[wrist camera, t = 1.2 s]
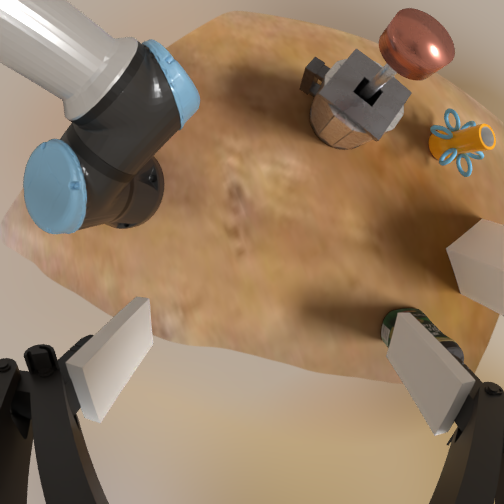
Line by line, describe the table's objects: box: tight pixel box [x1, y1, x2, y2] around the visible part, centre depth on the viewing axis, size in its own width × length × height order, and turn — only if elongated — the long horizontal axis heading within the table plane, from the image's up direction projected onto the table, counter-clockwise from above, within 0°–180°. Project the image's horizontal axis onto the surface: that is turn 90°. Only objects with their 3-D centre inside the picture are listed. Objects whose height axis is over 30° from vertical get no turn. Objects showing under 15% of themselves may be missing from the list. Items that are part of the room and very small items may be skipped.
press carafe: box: [300, 49, 411, 150], centre depth 37 cm, size 14×11×15 cm
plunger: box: [358, 8, 455, 102], centre depth 25 cm, size 6×6×22 cm
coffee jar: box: [381, 308, 464, 361], centre depth 42 cm, size 10×8×19 cm
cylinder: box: [429, 109, 496, 177], centre depth 36 cm, size 12×10×15 cm
